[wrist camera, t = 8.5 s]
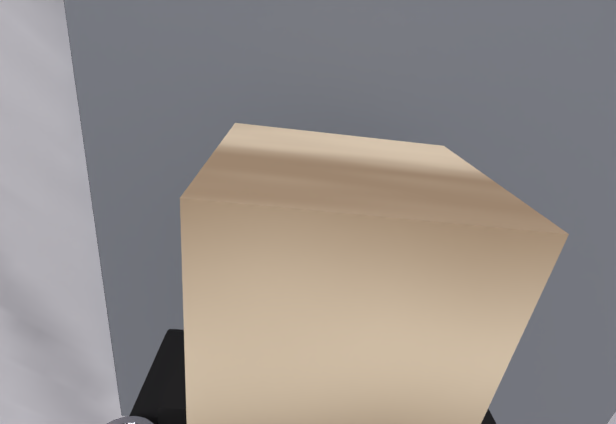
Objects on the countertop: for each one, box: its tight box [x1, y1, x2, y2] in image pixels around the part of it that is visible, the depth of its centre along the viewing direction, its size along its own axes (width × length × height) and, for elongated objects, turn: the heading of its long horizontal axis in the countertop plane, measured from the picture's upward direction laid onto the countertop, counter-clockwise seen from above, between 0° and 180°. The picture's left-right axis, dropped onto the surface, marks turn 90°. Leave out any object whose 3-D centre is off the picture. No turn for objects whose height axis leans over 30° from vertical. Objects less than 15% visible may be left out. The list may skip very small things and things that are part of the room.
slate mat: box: [64, 0, 616, 424], centre depth 13 cm, size 22×20×1 cm
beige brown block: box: [180, 123, 569, 424], centre depth 9 cm, size 12×5×5 cm, turn 173°
